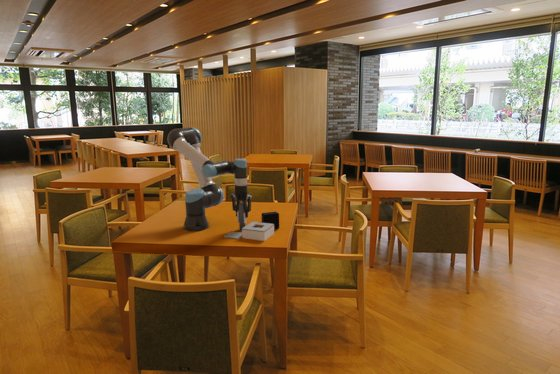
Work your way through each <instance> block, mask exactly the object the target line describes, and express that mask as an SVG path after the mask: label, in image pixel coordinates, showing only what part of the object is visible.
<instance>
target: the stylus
mask: <svg viewBox="0 0 560 374" xmlns="http://www.w3.org/2000/svg"><path fill="white" fill-rule="evenodd" d="M244 212H245V211H244V206H243V202H242V201H240V202H239V223H238V224H239V229H238V230H239V231H242V228H243V227H245V226H246V223H244Z"/></svg>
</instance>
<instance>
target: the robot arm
mask: <svg viewBox="0 0 560 374" xmlns="http://www.w3.org/2000/svg"><path fill="white" fill-rule="evenodd" d="M202 139H203V136H202V134H201V131H200V130H199V129H197V128H196V127H181V128H174V129H173V128H172V130H170V131H169V132H168V134H167V138H166V140H167V143H168V145H169V146H170V148H171V149H172V150H174V151H175V152H179V153H180V154H182V156H184V157H185V158H186V159H188V160H189V161H190V164H191V166H192V169H193V172H194V174H195V178H196V179H197V182H198V185H199V187H198V188H195V189H194V188H193V189H189V190H187V191H186V192H185V194H184V203H185V219H184V223H183V229H184V230H186V231H190V232H196V231H198V232H199V231H203V230H206V229H208V228H209V227H210V226H209V224H210V222H209V221H208V218H207V216H206V209H209V208H213V207H216V206H219V205H221V203H222V202H223V201H224V198H225V197H224V195H225V194H224V191H223V189H222V188H221V187H220V186H218V185H217V182H214V181H213V180H212V178H214V177H217V176H223V175H228V174H230V175H233V176H234V193H231V195H230V198H231V202H232V203H231V204H232V205H231V207H232V211H234V212H235V217H236V221H237V223H238V224H239V202H243V206H244V211H245V212H244V223H245V224H246V223H247V222H248V217H249V213H250V212H251V211H252V198H253V196H252V195H250V194H249V193H248V163H247V159H245V158H235V159H233V160H232V161H231V160H220V161H219V162H214V161H212V160H211V159H209V158H208V157H207V156H206V155H204V154H203V153H202V150H201V146H202Z"/></svg>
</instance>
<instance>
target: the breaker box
mask: <svg viewBox="0 0 560 374" xmlns="http://www.w3.org/2000/svg"><path fill="white" fill-rule="evenodd" d="M256 227H261V228H256ZM241 233H242V237H241V238H242V239H244V240H245V239H248V240H252V241H253V240H254V241H262V242H263V241H264V242H265V241H267V240H268V239H270V237H272V236H273V235H274V234H275V229H274V224H270V223H262V221H261V222H259V221H251V222H250V223H248V224H247V225H246V224H245V227H243V228H242V230H241Z"/></svg>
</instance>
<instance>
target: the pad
mask: <svg viewBox="0 0 560 374" xmlns="http://www.w3.org/2000/svg"><path fill="white" fill-rule="evenodd" d="M223 237H224V238H226V239H233V240H234V239H235V240H239V239H240V238H242V232H238V231H230V232H228V233H227V234H225V235H224V236H223Z"/></svg>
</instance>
